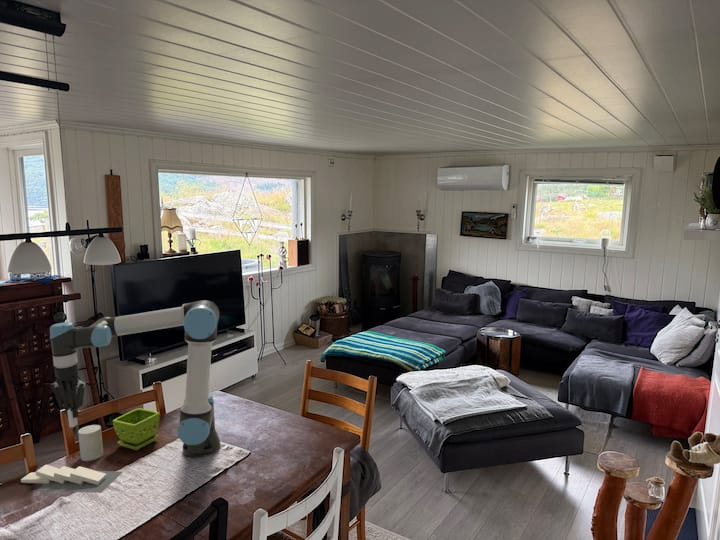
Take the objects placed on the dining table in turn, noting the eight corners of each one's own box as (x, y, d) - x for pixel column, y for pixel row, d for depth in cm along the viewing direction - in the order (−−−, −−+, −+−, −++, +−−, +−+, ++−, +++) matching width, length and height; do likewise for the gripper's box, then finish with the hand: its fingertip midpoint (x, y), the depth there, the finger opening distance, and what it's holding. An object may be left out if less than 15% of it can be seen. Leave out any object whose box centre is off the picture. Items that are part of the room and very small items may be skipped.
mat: (123, 472, 190) (123, 471, 190) (101, 493, 176) (101, 492, 176) (62, 470, 192) (62, 469, 192) (36, 491, 178) (35, 490, 178)
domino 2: (72, 472, 187) (45, 464, 187) (63, 480, 182) (36, 471, 182) (72, 476, 187) (45, 468, 187) (63, 483, 182) (35, 475, 182)
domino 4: (106, 473, 185) (79, 466, 186) (98, 481, 181) (70, 473, 181) (105, 477, 186) (78, 469, 186) (97, 485, 181) (69, 477, 181)
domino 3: (90, 473, 186) (63, 465, 187) (82, 480, 181) (54, 472, 182) (89, 477, 186) (62, 469, 187) (81, 484, 181) (53, 476, 182)
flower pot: (140, 433, 222) (138, 407, 221) (163, 439, 216) (161, 412, 215) (113, 447, 210) (111, 419, 208) (136, 454, 204) (133, 425, 202)
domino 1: (57, 472, 187) (30, 472, 188) (48, 479, 182) (20, 479, 183) (58, 475, 187) (31, 476, 188) (48, 483, 182) (21, 483, 183)
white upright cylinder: (93, 462, 198) (90, 434, 196) (76, 461, 199) (73, 433, 198) (107, 452, 206) (105, 425, 204) (90, 451, 207) (88, 424, 206)
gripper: (89, 361, 184) (96, 421, 187) (56, 361, 185) (63, 421, 188) (76, 368, 176) (83, 430, 179) (42, 368, 177) (50, 430, 180)
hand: (73, 425), depth 184 cm, fingers closed
